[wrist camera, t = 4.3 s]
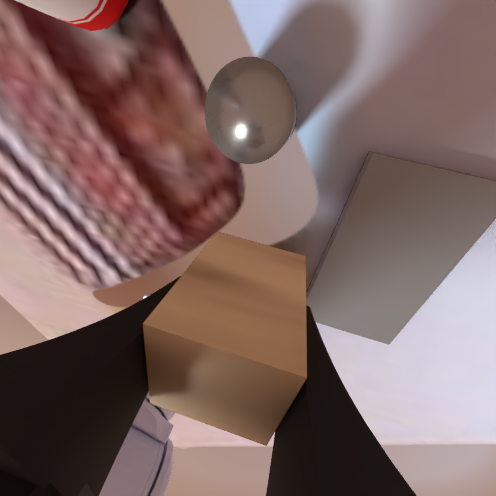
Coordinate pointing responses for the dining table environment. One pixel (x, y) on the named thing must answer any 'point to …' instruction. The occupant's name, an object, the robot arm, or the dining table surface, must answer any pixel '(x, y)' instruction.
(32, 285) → the dining table surface
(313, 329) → the robot arm
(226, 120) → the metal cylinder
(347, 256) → the slate board
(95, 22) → the beer can
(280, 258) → the oak block
